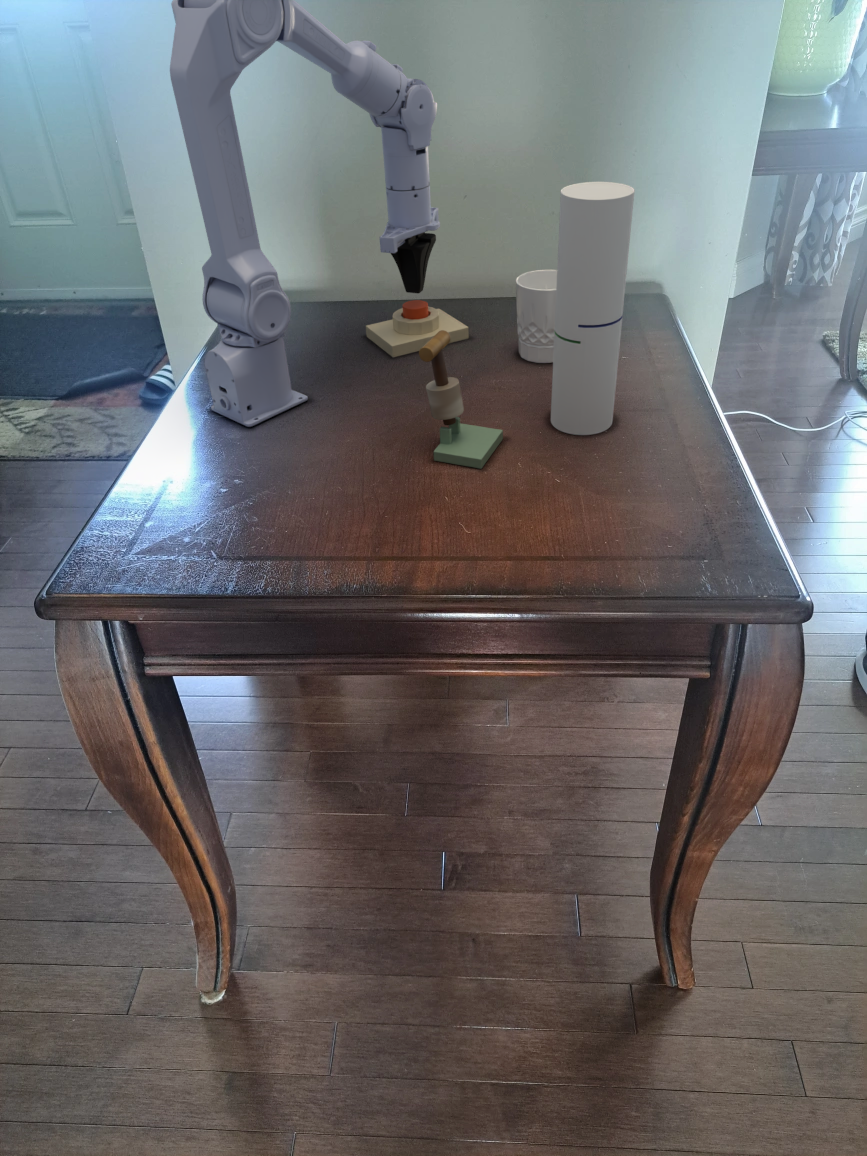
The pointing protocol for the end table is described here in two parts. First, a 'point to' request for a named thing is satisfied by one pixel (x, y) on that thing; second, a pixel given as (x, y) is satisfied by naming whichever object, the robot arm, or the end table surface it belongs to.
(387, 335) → the button box
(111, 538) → the end table surface
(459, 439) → the stand
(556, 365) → the cylindrical container
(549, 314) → the white cup
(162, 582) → the end table surface
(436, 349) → the t-handle lever
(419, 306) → the call button
